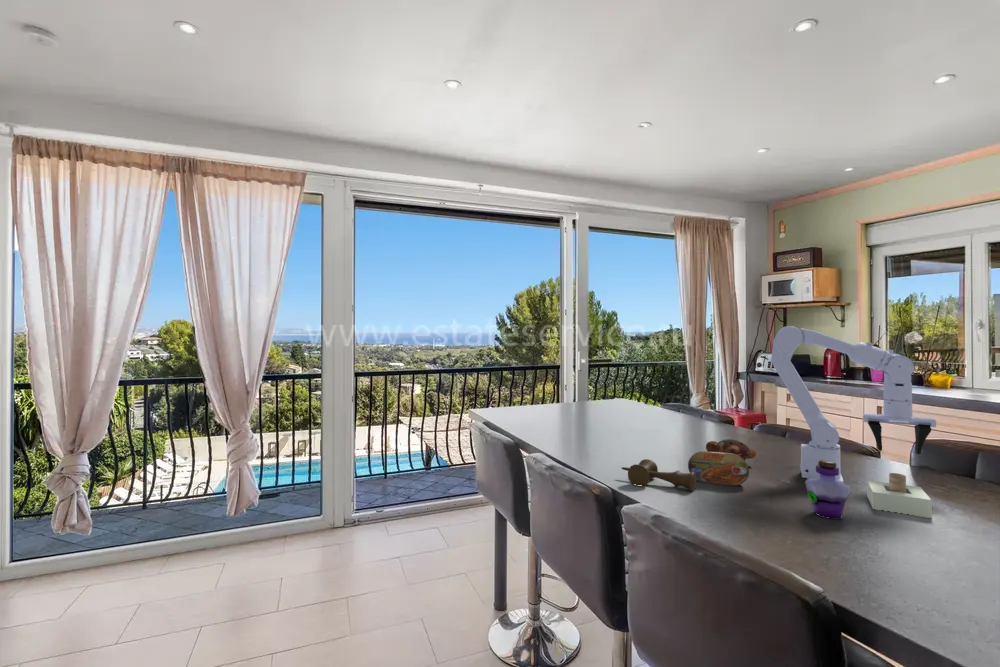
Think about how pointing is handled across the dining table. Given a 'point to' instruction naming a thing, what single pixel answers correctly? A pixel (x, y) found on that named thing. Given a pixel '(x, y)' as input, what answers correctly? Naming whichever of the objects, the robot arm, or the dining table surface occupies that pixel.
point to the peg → (897, 482)
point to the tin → (718, 468)
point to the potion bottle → (827, 491)
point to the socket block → (899, 499)
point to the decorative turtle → (731, 448)
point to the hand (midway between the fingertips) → (898, 451)
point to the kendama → (659, 475)
